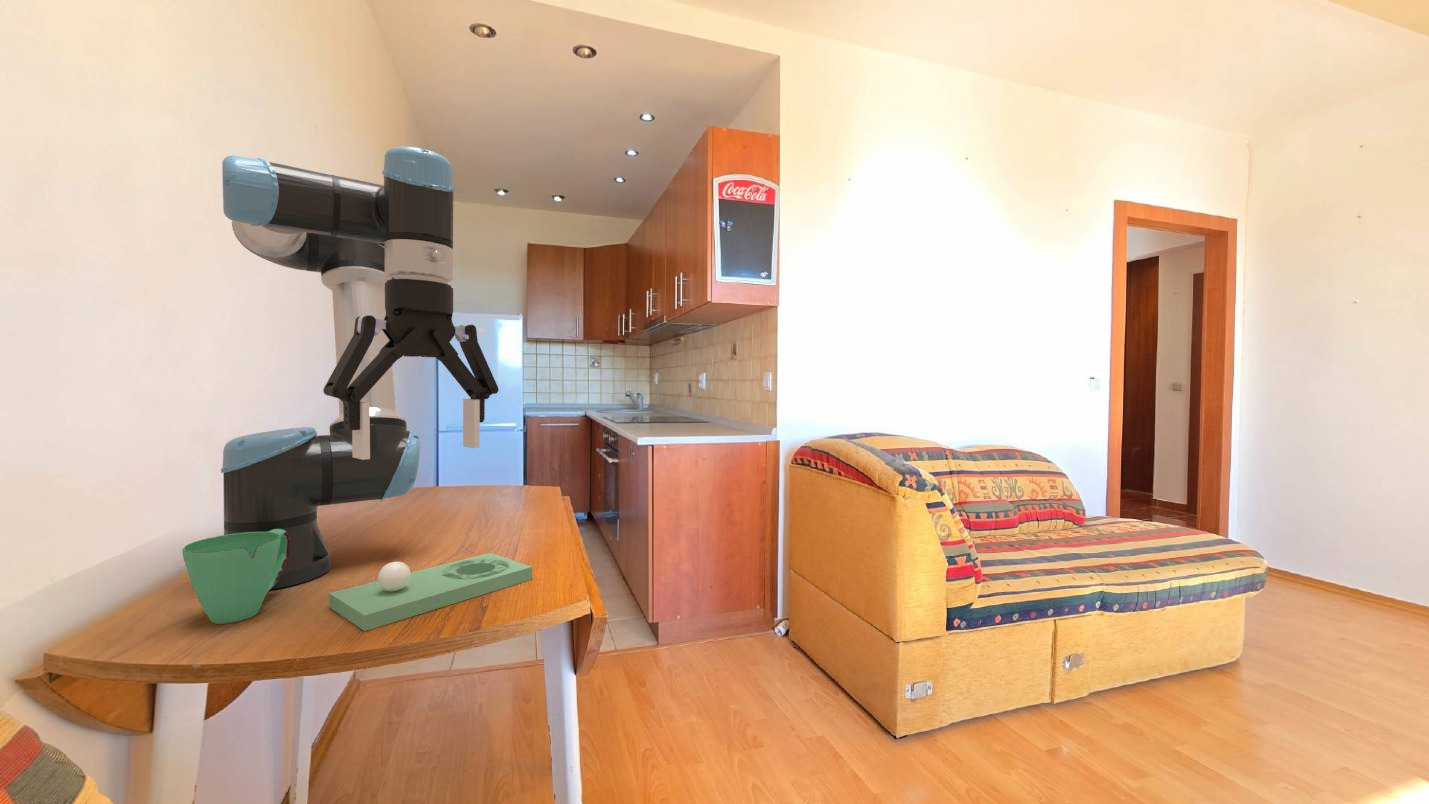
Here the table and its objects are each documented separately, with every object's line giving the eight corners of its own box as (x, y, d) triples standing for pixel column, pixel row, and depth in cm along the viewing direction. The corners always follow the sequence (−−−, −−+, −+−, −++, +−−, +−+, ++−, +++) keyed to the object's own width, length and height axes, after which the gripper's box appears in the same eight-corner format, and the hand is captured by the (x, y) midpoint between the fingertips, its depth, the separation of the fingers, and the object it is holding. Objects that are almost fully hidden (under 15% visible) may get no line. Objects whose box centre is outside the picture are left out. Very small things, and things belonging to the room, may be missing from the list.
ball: (372, 591, 78) (372, 562, 78) (403, 583, 81) (402, 556, 81) (385, 598, 76) (384, 568, 76) (415, 589, 79) (415, 561, 79)
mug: (248, 630, 70) (246, 551, 70) (162, 633, 69) (160, 553, 69) (318, 588, 85) (317, 522, 84) (248, 590, 84) (247, 523, 83)
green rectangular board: (364, 631, 70) (364, 615, 70) (329, 607, 77) (328, 593, 77) (532, 579, 89) (531, 566, 89) (490, 564, 96) (490, 552, 96)
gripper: (314, 260, 57) (317, 467, 58) (525, 292, 77) (524, 446, 78) (287, 267, 62) (290, 460, 63) (493, 296, 82) (493, 441, 83)
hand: (420, 452), depth 71 cm, fingers open, 13 cm apart
